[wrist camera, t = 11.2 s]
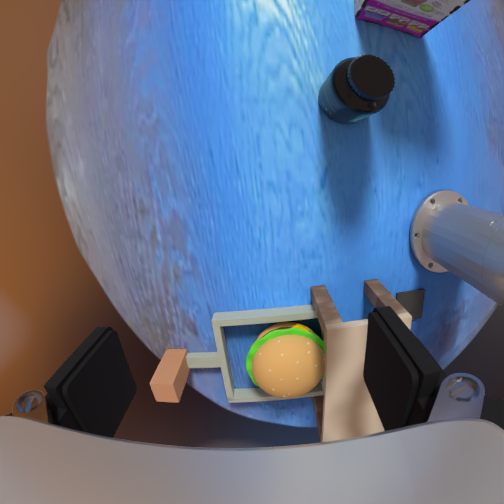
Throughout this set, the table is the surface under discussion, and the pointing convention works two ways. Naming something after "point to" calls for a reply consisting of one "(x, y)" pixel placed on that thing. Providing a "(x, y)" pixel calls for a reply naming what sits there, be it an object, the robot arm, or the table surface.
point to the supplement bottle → (356, 89)
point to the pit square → (412, 302)
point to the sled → (224, 357)
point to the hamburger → (286, 360)
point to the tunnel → (348, 366)
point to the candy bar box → (407, 13)
